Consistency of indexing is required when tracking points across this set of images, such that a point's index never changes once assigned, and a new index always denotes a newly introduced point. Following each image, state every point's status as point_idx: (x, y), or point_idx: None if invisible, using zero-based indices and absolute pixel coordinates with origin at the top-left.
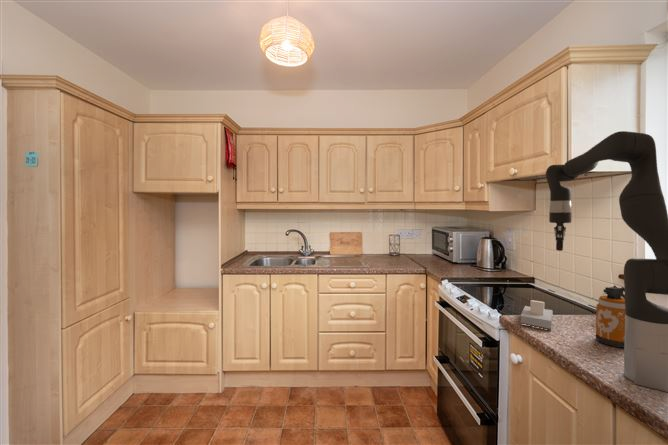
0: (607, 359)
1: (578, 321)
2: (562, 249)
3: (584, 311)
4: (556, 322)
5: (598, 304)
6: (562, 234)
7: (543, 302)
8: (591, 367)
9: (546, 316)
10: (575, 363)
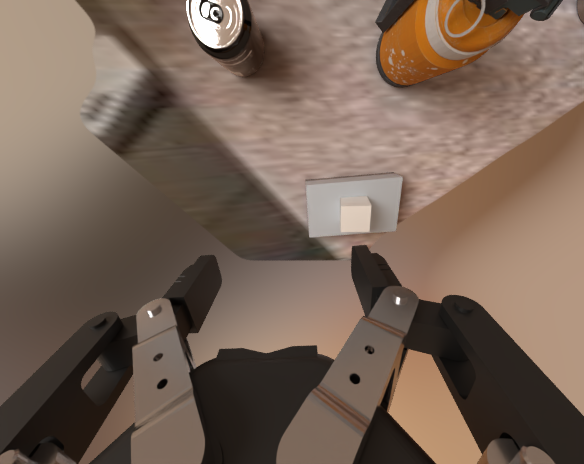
0: (519, 60)
1: (279, 130)
2: (367, 248)
3: (172, 124)
4: (322, 170)
5: (463, 60)
6: (528, 366)
7: (358, 206)
8: (574, 87)
9: (371, 189)
10: (562, 114)
